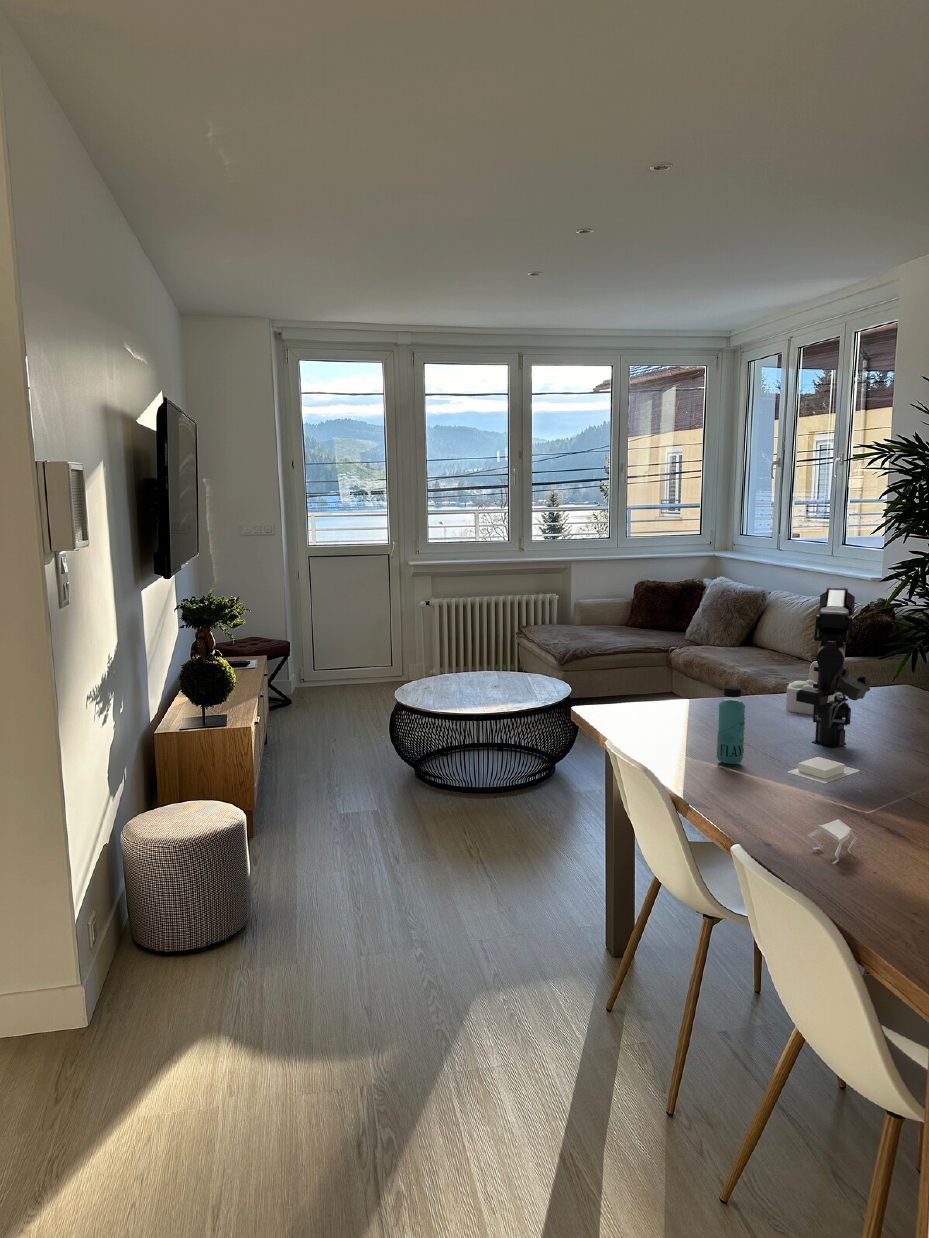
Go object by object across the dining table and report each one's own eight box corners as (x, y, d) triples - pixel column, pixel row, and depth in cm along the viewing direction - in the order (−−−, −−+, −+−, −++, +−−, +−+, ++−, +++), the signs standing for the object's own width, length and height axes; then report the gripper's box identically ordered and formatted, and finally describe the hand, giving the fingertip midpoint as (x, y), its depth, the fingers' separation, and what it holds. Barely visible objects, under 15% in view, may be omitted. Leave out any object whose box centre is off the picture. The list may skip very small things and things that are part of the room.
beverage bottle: (715, 768, 208) (717, 689, 205) (716, 759, 214) (719, 683, 211) (742, 770, 206) (746, 690, 203) (743, 762, 212) (747, 684, 209)
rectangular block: (817, 764, 208) (798, 771, 204) (817, 756, 208) (798, 762, 203) (844, 772, 202) (824, 779, 198) (844, 763, 202) (825, 770, 198)
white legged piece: (802, 840, 165) (803, 816, 165) (846, 842, 164) (848, 818, 164) (820, 867, 154) (821, 842, 153) (868, 869, 153) (870, 843, 152)
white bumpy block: (788, 703, 268) (789, 677, 267) (832, 708, 263) (834, 680, 261) (784, 711, 259) (786, 684, 258) (830, 716, 254) (832, 688, 252)
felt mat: (786, 773, 204) (786, 771, 203) (822, 761, 212) (822, 759, 212) (824, 784, 195) (824, 783, 195) (860, 772, 204) (860, 770, 204)
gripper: (840, 674, 188) (836, 741, 190) (885, 663, 198) (881, 728, 201) (795, 666, 197) (792, 730, 199) (841, 656, 208) (837, 718, 210)
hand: (827, 727), depth 202 cm, fingers closed
